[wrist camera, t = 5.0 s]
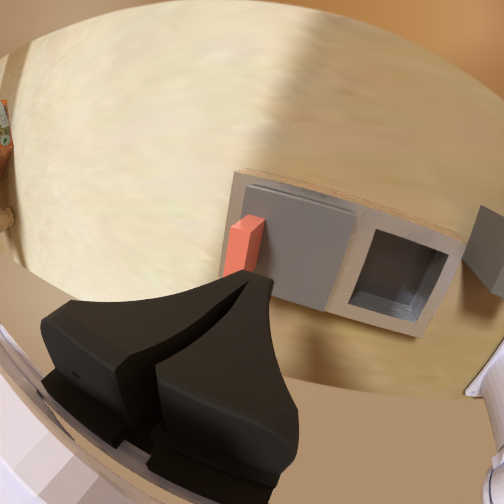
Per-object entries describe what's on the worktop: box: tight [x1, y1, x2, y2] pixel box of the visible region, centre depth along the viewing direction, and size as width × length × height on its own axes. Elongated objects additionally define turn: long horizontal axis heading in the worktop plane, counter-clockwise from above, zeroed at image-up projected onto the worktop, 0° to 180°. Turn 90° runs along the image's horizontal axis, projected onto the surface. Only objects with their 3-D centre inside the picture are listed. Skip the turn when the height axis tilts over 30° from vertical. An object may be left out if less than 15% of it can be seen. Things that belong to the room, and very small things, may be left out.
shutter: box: [223, 185, 357, 312], centre depth 14 cm, size 6×6×3 cm
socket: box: [218, 169, 467, 338], centre depth 16 cm, size 14×7×2 cm, turn 79°
